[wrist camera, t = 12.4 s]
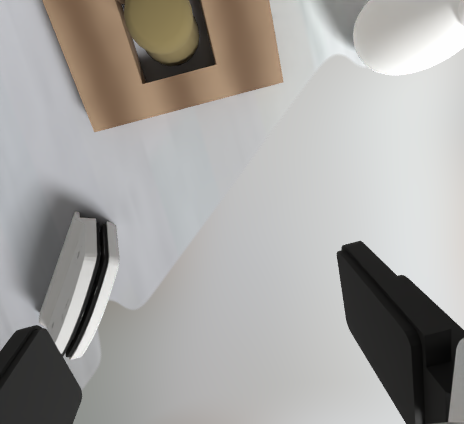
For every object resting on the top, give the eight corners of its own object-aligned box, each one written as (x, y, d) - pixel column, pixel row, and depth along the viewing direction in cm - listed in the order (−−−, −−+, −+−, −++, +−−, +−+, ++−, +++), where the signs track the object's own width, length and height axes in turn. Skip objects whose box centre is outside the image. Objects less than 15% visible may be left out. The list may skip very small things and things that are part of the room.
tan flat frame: (249, -72, 32) (253, -87, 29) (277, 82, 37) (283, 82, 34) (46, -17, 32) (31, -27, 29) (102, 128, 37) (94, 132, 34)
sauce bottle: (417, 51, 37) (596, 22, 20) (353, 89, 38) (475, 93, 21) (392, -22, 34) (577, -125, 17) (325, 21, 35) (438, -36, 18)
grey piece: (75, 208, 40) (76, 255, 32) (115, 217, 42) (125, 263, 34) (39, 315, 45) (31, 379, 37) (76, 317, 47) (77, 378, 39)
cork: (163, 78, 36) (148, 75, 25) (127, 23, 34) (94, -4, 23) (210, 44, 35) (214, 27, 25) (176, -14, 33) (164, -58, 23)
